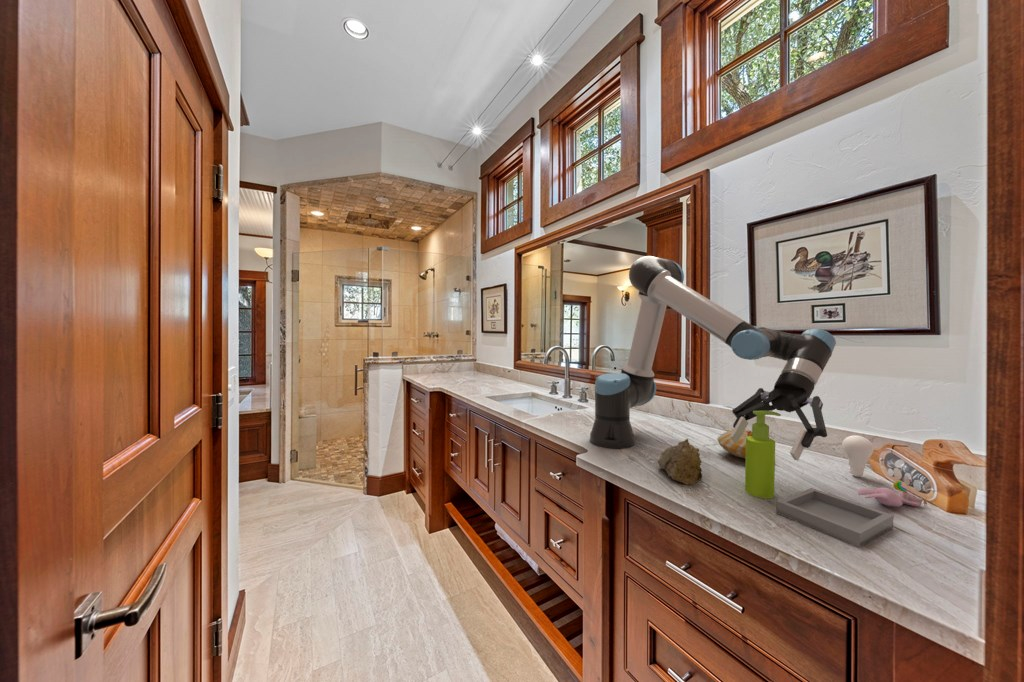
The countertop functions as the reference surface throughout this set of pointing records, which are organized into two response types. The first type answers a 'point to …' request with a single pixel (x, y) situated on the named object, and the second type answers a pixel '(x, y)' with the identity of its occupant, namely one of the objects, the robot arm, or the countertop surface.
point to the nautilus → (732, 447)
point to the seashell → (682, 463)
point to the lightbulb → (857, 453)
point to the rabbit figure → (893, 496)
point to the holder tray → (836, 516)
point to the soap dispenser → (760, 458)
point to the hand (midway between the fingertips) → (761, 447)
